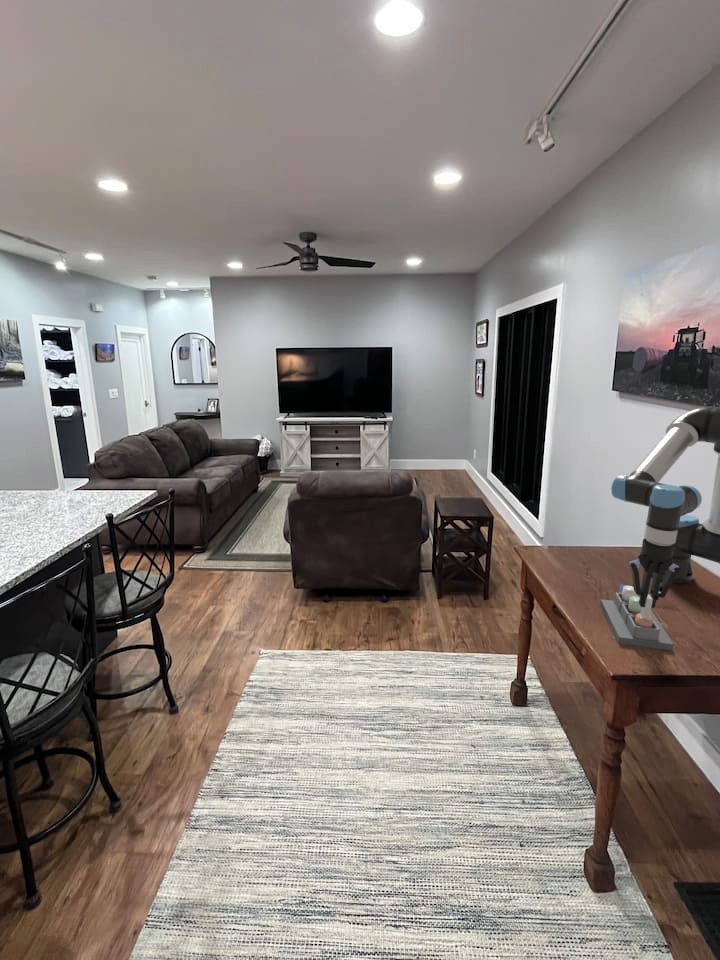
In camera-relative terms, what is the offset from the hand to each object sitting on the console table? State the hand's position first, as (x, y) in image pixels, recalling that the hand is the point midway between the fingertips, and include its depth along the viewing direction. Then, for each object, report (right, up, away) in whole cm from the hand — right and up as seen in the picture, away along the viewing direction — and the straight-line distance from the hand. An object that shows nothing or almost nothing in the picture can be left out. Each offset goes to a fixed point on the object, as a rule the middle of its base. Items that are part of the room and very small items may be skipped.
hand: (644, 616), depth 138 cm
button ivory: (+3, +1, +14) cm, 14 cm away
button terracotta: (0, -4, +1) cm, 4 cm away
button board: (+2, -5, +9) cm, 10 cm away
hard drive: (+11, -1, +26) cm, 29 cm away
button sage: (+2, -1, +7) cm, 8 cm away
